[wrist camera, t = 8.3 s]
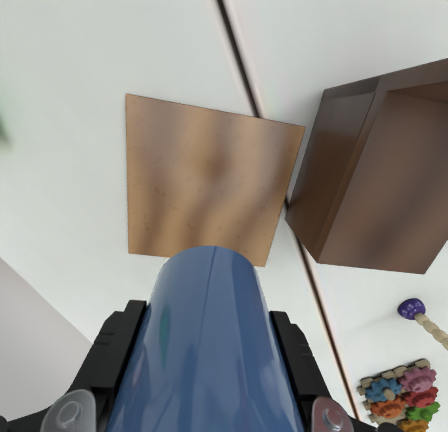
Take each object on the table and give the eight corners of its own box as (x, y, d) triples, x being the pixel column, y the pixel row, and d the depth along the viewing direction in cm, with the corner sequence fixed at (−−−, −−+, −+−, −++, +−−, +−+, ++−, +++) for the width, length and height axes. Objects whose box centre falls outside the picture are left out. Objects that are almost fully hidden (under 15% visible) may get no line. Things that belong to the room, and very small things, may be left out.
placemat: (129, 251, 31) (128, 253, 30) (126, 93, 23) (125, 93, 22) (264, 265, 33) (264, 267, 33) (304, 126, 25) (305, 126, 25)
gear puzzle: (436, 419, 58) (452, 440, 54) (376, 436, 60) (387, 457, 56) (427, 355, 45) (447, 376, 42) (353, 380, 48) (365, 402, 44)
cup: (154, 321, 13) (32, 756, 4) (157, 238, 11) (-106, 822, 2) (248, 327, 14) (316, 714, 5) (270, 250, 12) (481, 723, 3)
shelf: (284, 219, 30) (363, 327, 15) (324, 89, 24) (540, 33, 8) (362, 229, 31) (510, 337, 16) (420, 109, 25) (758, 94, 10)
